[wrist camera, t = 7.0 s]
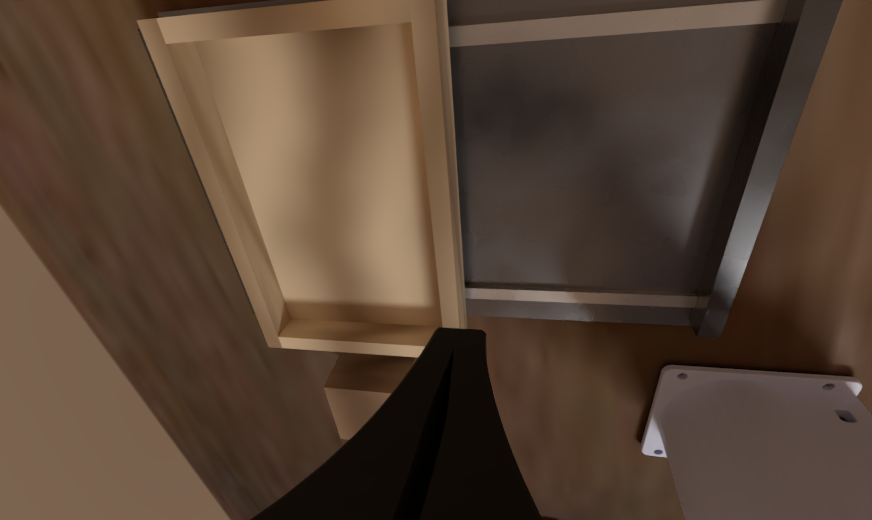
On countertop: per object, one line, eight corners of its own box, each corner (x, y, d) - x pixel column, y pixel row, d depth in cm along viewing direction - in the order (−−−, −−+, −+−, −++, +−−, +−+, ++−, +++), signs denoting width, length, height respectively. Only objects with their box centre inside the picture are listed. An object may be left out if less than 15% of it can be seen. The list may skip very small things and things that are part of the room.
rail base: (829, -59, 14) (865, -64, 12) (704, 321, 22) (716, 346, 21) (163, 12, 19) (131, 14, 17) (271, 301, 27) (256, 319, 26)
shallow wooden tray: (449, -12, 15) (433, -11, 13) (468, 320, 24) (461, 360, 21) (192, 14, 17) (136, 20, 15) (294, 311, 26) (268, 346, 23)
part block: (423, 329, 26) (404, 394, 22) (430, 379, 29) (413, 446, 25) (354, 325, 27) (323, 387, 23) (366, 374, 30) (340, 438, 25)
